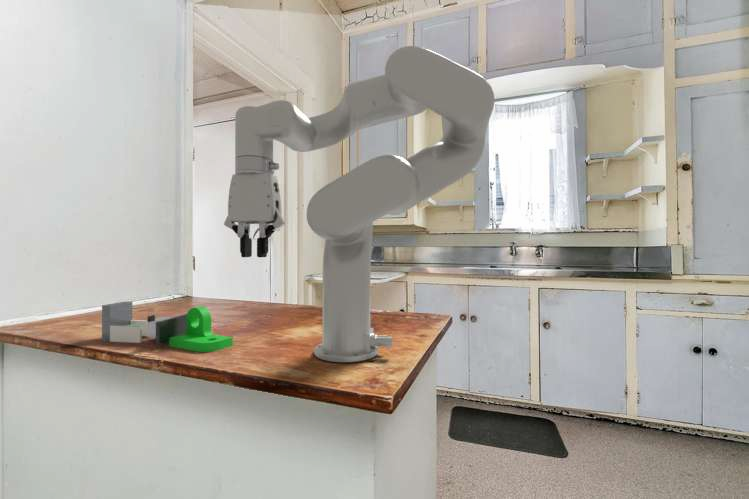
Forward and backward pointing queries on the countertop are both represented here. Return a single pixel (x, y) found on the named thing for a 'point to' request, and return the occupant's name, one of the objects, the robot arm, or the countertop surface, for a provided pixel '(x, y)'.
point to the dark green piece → (165, 327)
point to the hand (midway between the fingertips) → (254, 256)
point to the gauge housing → (121, 324)
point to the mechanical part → (200, 333)
